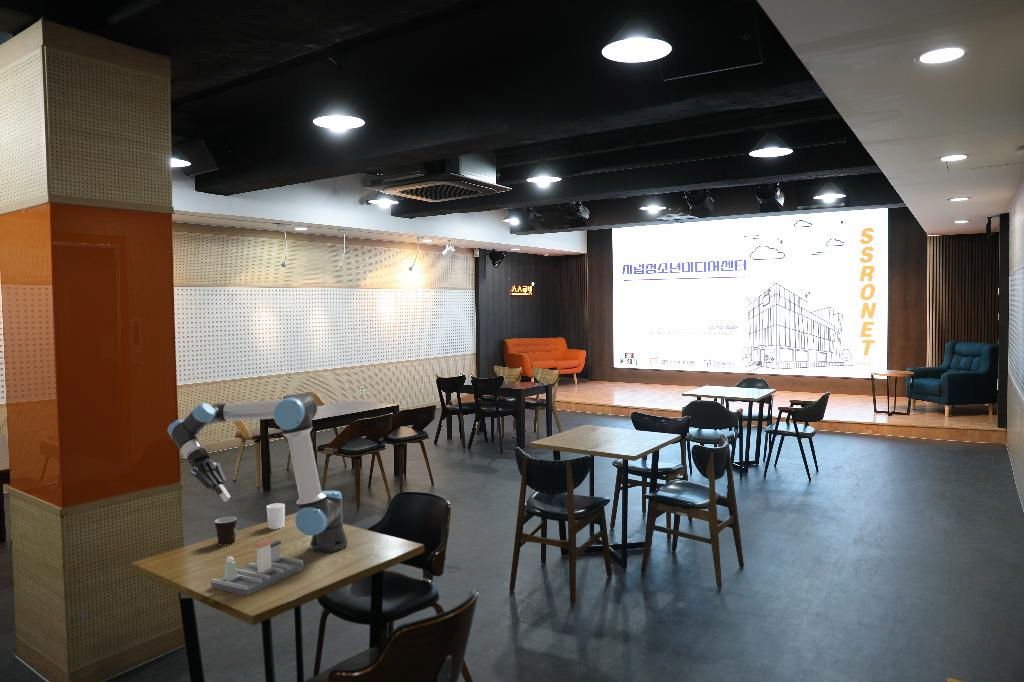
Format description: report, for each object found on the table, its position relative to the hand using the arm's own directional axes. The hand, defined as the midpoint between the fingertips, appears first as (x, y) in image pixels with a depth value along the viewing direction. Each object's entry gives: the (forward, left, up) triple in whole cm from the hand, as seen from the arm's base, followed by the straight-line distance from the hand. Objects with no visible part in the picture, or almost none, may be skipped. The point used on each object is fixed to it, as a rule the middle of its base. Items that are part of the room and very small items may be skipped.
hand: (227, 499), depth 265 cm
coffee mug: (+11, -29, -26) cm, 41 cm away
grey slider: (-17, +4, -24) cm, 30 cm away
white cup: (-4, -47, -26) cm, 54 cm away
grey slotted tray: (-15, +14, -26) cm, 33 cm away
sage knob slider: (-7, +21, -24) cm, 33 cm away
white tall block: (-18, +15, -24) cm, 33 cm away
